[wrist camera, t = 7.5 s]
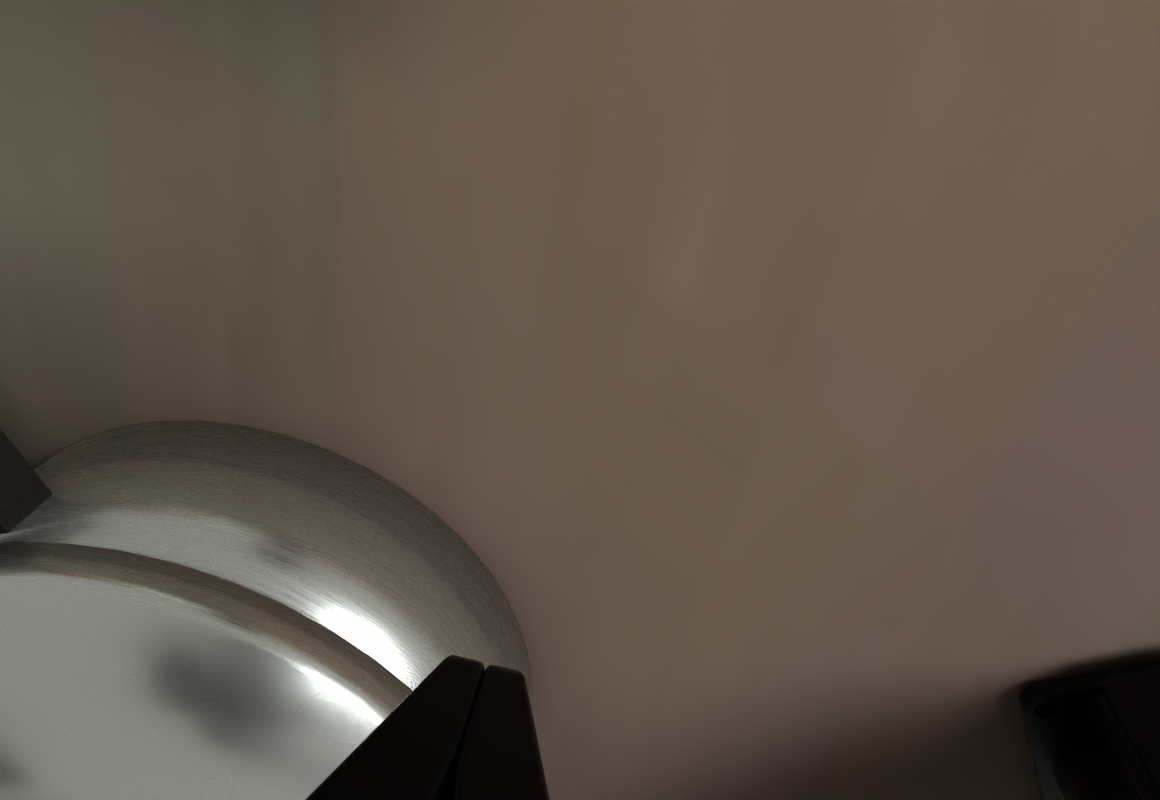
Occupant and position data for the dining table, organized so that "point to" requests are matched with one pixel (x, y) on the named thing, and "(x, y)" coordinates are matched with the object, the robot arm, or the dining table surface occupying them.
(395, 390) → the dining table surface
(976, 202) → the dining table surface
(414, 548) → the cooker pot
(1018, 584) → the dining table surface
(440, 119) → the dining table surface
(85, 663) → the cooker lid
